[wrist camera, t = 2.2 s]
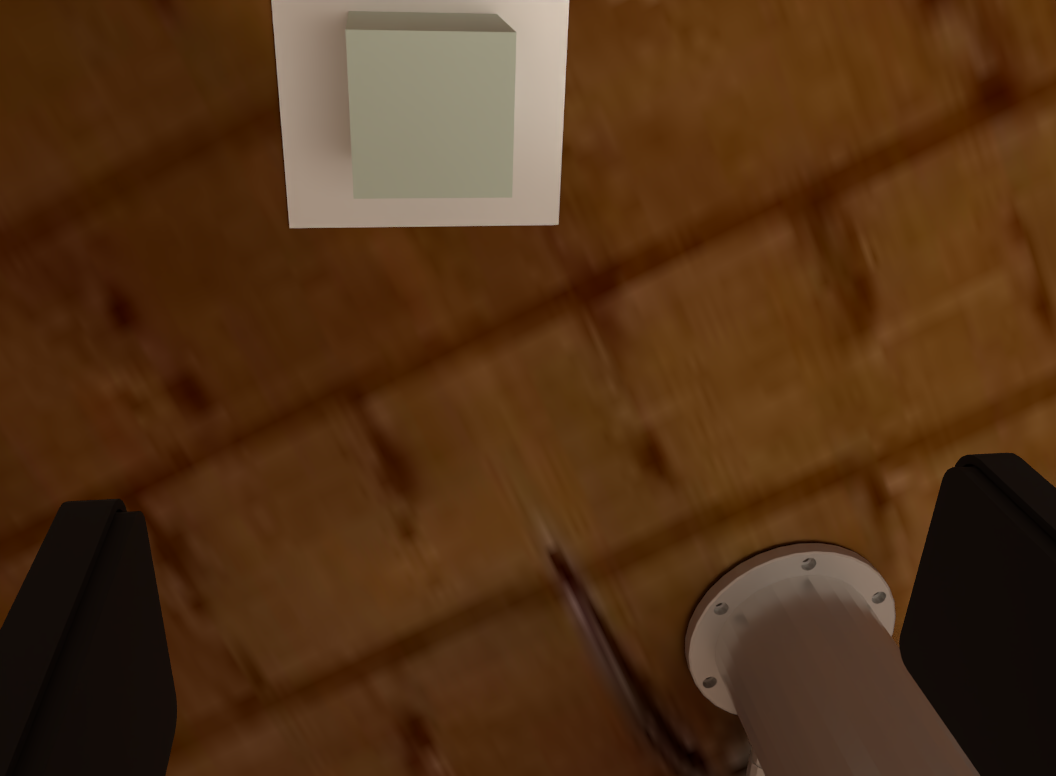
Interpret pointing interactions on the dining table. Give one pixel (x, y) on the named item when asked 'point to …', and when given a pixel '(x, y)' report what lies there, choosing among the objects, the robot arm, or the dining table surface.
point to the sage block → (431, 104)
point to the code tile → (324, 121)
